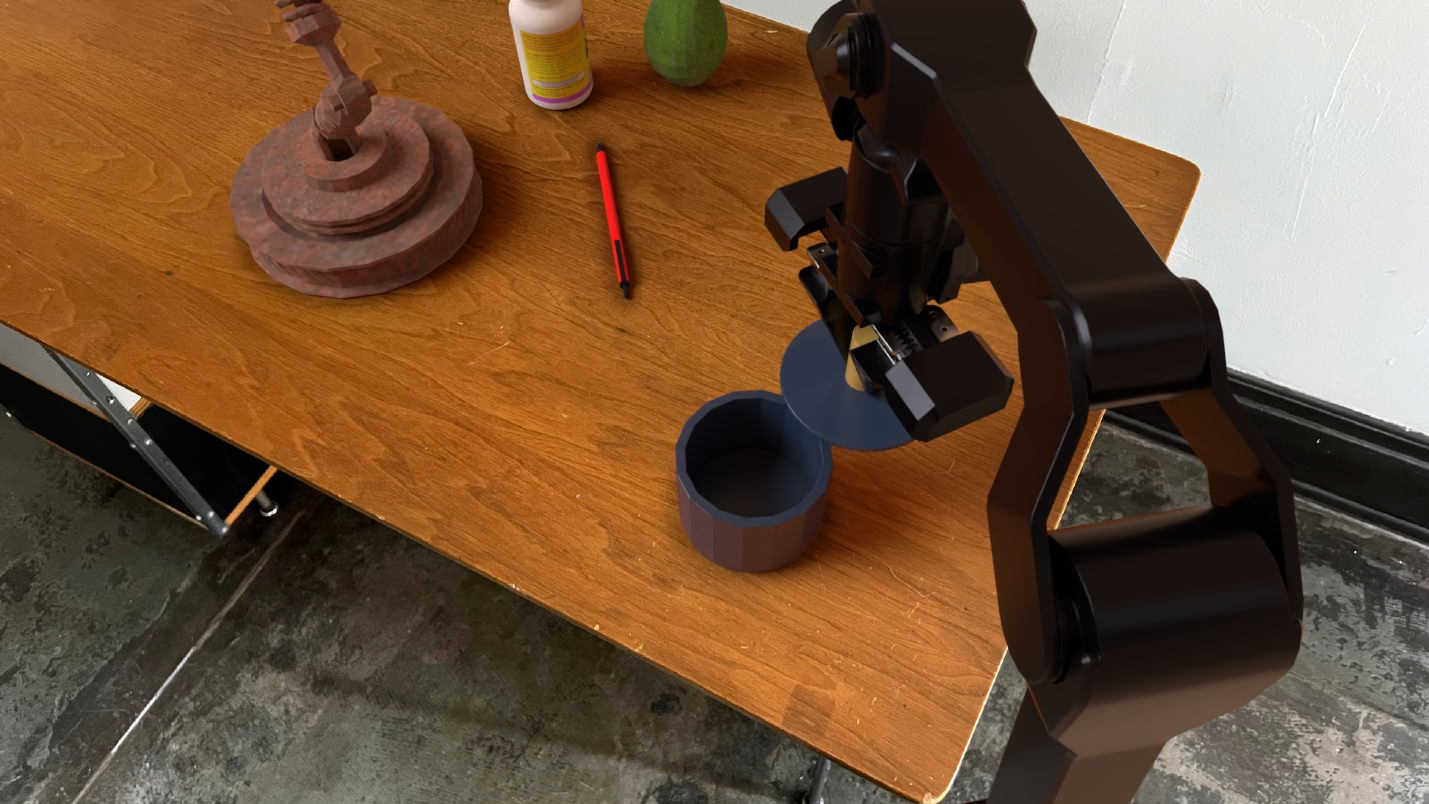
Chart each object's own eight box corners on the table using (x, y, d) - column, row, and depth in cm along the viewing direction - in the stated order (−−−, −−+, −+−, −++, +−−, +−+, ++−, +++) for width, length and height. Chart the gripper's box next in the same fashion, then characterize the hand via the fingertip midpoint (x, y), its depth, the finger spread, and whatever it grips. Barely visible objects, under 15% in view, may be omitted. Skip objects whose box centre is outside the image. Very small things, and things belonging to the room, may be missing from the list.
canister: (849, 535, 69) (861, 486, 63) (718, 596, 67) (718, 552, 60) (780, 424, 74) (785, 368, 68) (656, 477, 72) (650, 425, 65)
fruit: (701, 114, 93) (699, 4, 83) (632, 88, 95) (621, -23, 85) (741, 68, 97) (743, -43, 87) (673, 43, 99) (667, -68, 89)
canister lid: (977, 418, 63) (997, 369, 58) (829, 483, 60) (837, 436, 56) (889, 300, 68) (901, 246, 64) (750, 355, 66) (752, 303, 61)
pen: (622, 301, 81) (620, 292, 80) (594, 146, 91) (593, 137, 90) (632, 299, 81) (631, 291, 80) (603, 145, 91) (602, 135, 90)
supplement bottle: (605, 98, 94) (589, -21, 84) (543, 122, 93) (519, 3, 82) (575, 60, 98) (557, -60, 87) (515, 82, 96) (488, -37, 85)
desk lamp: (387, 61, 98) (210, -443, 64) (548, 252, 84) (429, -266, 50) (184, 147, 91) (-131, -364, 58) (322, 370, 77) (10, -135, 44)
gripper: (1138, 276, 47) (1049, 439, 61) (932, 58, 57) (894, 241, 70) (946, 356, 45) (897, 509, 58) (764, 115, 54) (757, 293, 67)
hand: (863, 376), depth 63 cm, fingers closed on canister lid, 2 cm apart
